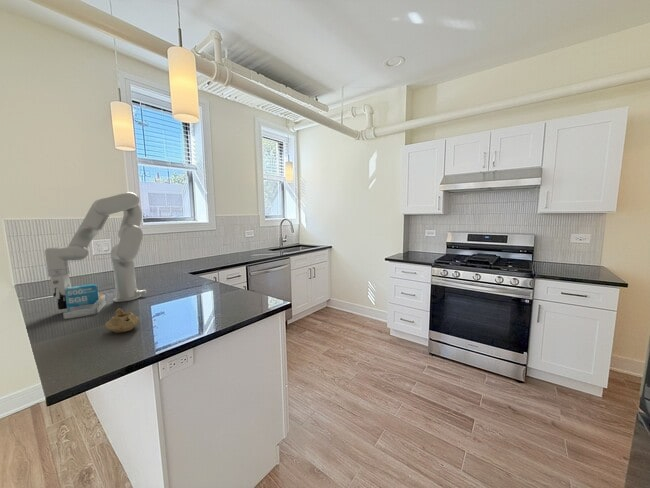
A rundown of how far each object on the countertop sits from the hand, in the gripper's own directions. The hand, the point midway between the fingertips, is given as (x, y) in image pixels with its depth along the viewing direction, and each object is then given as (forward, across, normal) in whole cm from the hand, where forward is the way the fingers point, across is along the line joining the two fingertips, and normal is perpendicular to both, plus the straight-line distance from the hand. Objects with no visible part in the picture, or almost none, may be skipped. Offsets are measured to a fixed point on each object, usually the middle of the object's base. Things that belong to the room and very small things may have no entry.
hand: (63, 308), depth 133 cm
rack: (+2, -4, -10) cm, 11 cm away
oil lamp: (+2, -46, -31) cm, 55 cm away
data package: (+2, 0, -8) cm, 8 cm away
